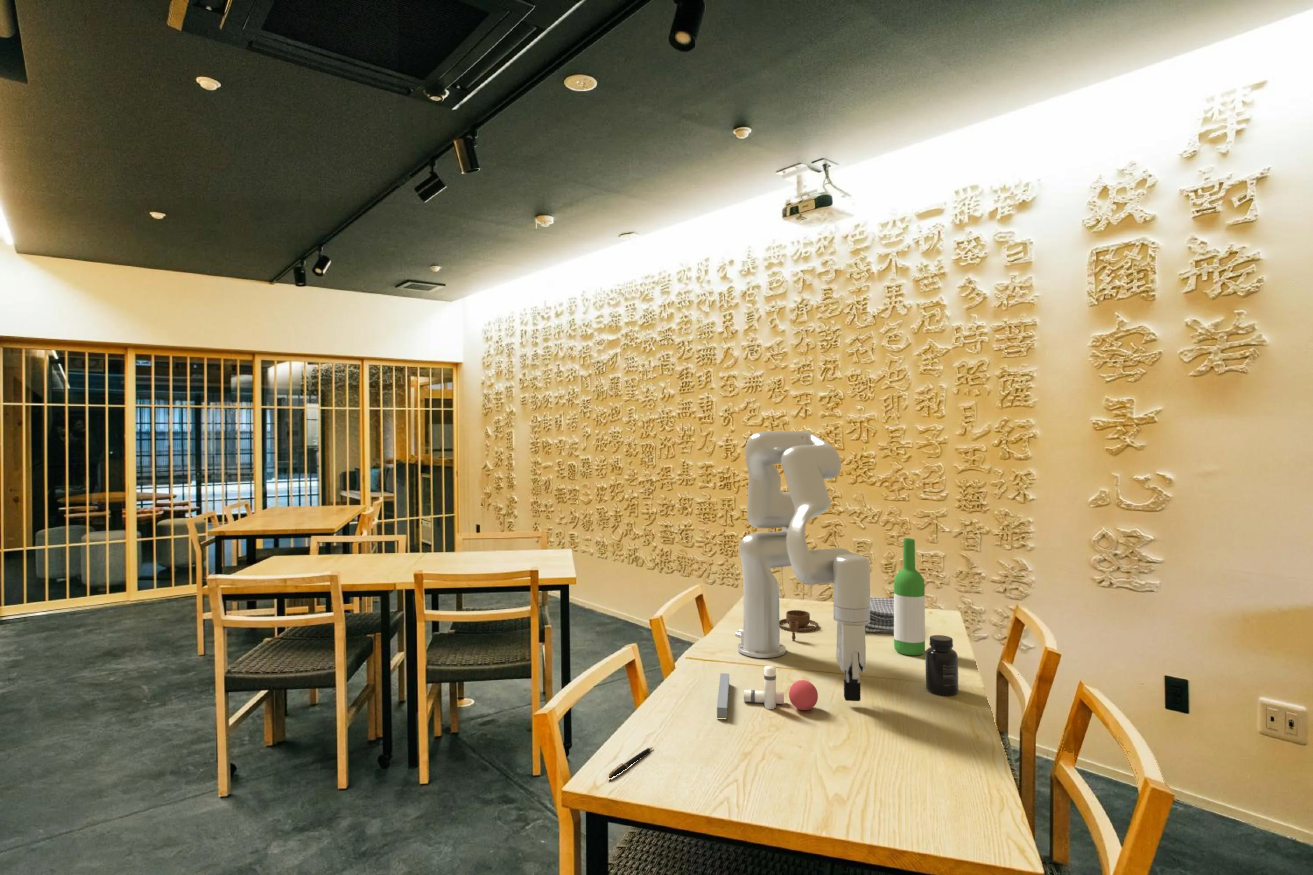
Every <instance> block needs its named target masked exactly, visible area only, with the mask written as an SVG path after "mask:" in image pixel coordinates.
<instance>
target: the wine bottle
mask: <svg viewBox="0 0 1313 875" xmlns="http://www.w3.org/2000/svg"><path fill="white" fill-rule="evenodd" d="M915 542H916V540H915V539H914V538H911V537H910V538H908V537H907V538H906V537H905V538H903V541H902V544H903V545H902V569H901V570H899V571H898V572H897V573H896V575H895V576H894V580H893V581H894V582H893V598H894V633H893V647H894V650H895V651H896V652H897V653H898V654H902V655H904V656H905V655H906V656H920V655H923V654H924V653H925V652H926V602H925V601H926V599H925V598H926V594H925V593H926V592H925V591H926V590H925V588H926V586H925V579H924V577H923V576H922V574H921V573H920V572H919V571H918V570H917V569H916V543H915Z"/></svg>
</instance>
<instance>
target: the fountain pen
mask: <svg viewBox="0 0 1313 875" xmlns="http://www.w3.org/2000/svg"><path fill="white" fill-rule="evenodd" d="M653 748H654V746H651V747H647V748H646V749H644V750H642V751H641V752H640V753H638V754H636V755H634V756H633V757H632V758H630V759H629V760H628V761H626V762H621V763H620V764H618V765H617V766H616V767H615V768H614V769H612V770H611V771H610V772H609V773H608V777H609V778H612V777H613V776H616V775H617V774H619V773H621V772H622V771H623V770H625V769H627V768H628V767H629V766H630V765H631V764H633V763H634V762H636V761H637V760H639V759H640V758H642V757H643V756H644V755H646V754H647V753H648V752H649V751H650V752H651V751H652V749H653ZM650 752H649V753H650ZM649 753H648V754H649ZM648 754H647V755H648ZM647 755H646V756H647ZM644 757H645V756H644ZM644 757H643V758H644ZM643 758H642V759H643ZM639 761H640V760H639Z"/></svg>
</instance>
